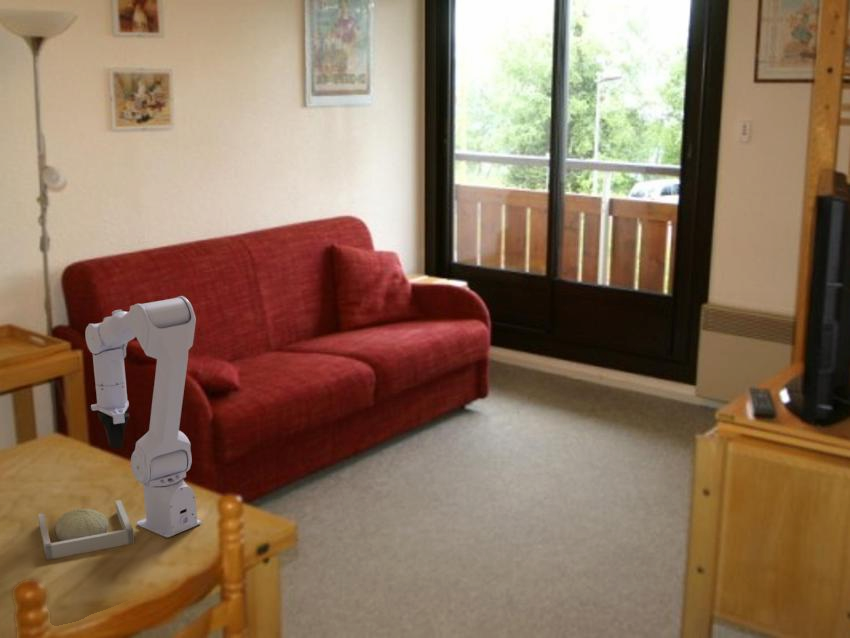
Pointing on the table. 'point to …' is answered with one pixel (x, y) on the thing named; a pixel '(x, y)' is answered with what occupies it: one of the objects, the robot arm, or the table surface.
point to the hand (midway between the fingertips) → (116, 447)
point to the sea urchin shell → (81, 524)
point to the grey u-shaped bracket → (88, 538)
